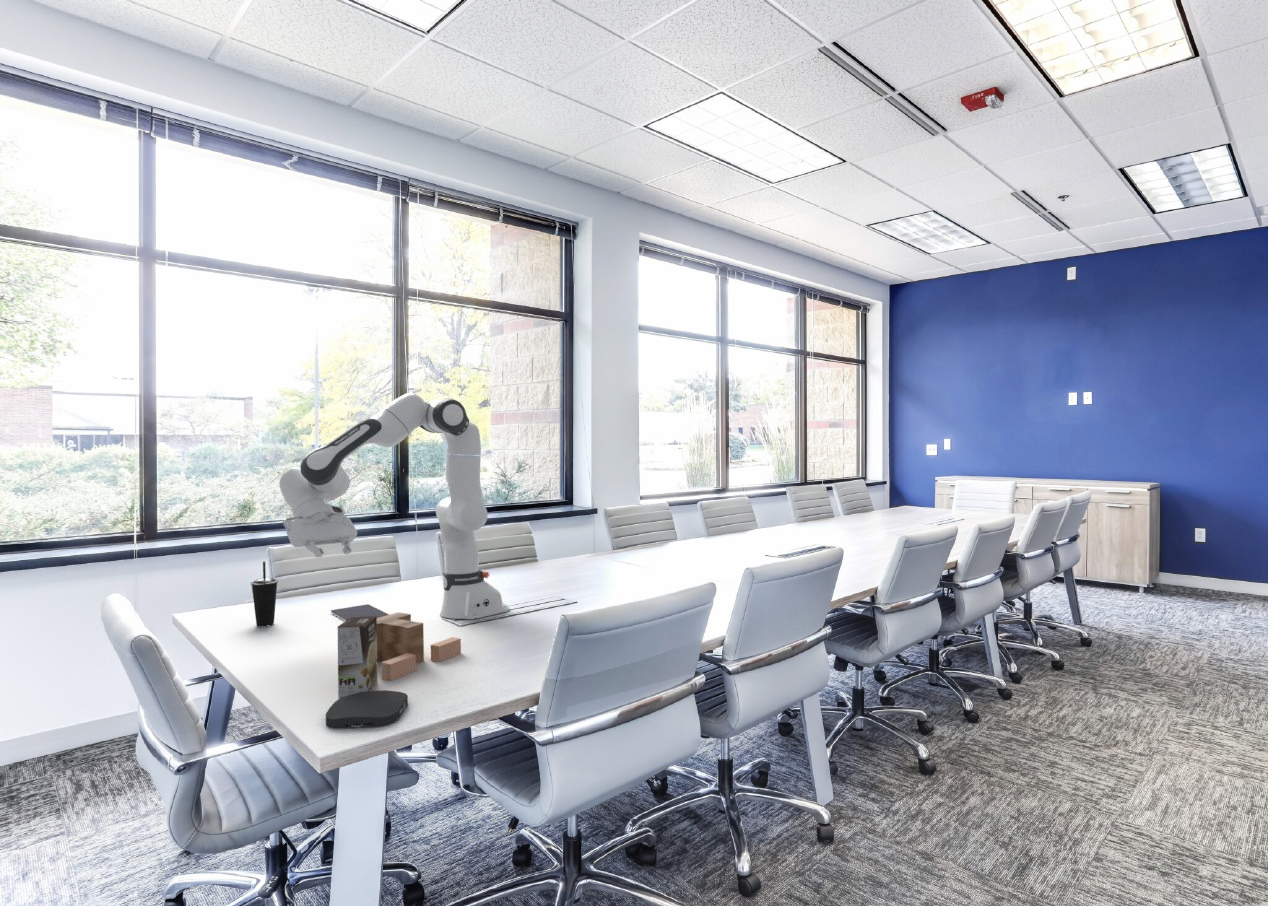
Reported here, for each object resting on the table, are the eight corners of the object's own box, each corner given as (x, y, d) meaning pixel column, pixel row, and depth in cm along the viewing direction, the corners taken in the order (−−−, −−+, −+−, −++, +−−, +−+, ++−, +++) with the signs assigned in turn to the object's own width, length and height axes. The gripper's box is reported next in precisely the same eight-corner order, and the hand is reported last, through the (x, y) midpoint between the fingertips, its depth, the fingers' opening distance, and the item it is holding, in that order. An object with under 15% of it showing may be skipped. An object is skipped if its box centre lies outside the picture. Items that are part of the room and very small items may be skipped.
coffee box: (366, 696, 156) (365, 626, 156) (337, 697, 156) (336, 627, 155) (378, 682, 165) (377, 615, 165) (350, 683, 165) (349, 616, 165)
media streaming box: (344, 703, 153) (344, 690, 153) (412, 701, 154) (411, 688, 154) (319, 731, 139) (319, 716, 139) (394, 728, 140) (393, 714, 140)
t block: (353, 663, 180) (352, 625, 179) (398, 647, 193) (397, 612, 192) (393, 672, 172) (393, 632, 172) (437, 655, 185) (437, 618, 185)
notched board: (381, 678, 168) (381, 662, 168) (452, 651, 189) (452, 637, 189) (390, 680, 166) (390, 664, 166) (460, 653, 187) (460, 638, 187)
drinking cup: (267, 628, 213) (265, 564, 213) (245, 627, 215) (244, 563, 214) (284, 622, 221) (283, 559, 220) (263, 621, 222) (262, 559, 222)
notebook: (391, 620, 224) (368, 608, 240) (391, 615, 224) (368, 604, 240) (351, 627, 216) (330, 614, 232) (351, 622, 216) (329, 610, 232)
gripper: (286, 510, 189) (308, 550, 184) (348, 508, 207) (369, 544, 202) (274, 525, 191) (296, 565, 186) (336, 521, 209) (357, 557, 204)
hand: (334, 554), depth 194 cm, fingers open, 8 cm apart
